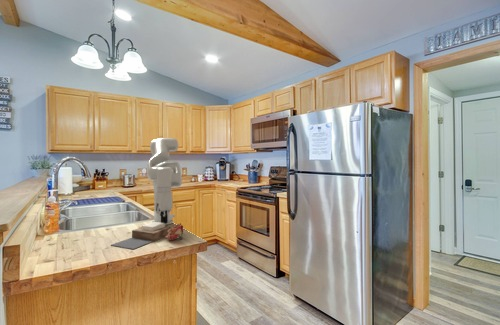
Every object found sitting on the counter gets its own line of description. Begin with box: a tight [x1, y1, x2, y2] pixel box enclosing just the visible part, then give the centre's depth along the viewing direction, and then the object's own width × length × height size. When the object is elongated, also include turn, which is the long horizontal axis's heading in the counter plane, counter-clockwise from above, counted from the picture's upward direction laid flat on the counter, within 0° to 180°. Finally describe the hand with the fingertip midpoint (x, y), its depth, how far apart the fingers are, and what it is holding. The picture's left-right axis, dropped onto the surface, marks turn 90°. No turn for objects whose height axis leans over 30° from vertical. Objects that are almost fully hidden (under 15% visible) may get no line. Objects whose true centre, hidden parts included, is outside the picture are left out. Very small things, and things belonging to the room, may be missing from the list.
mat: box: [110, 237, 153, 251], centre depth 122 cm, size 12×14×1 cm
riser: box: [131, 225, 172, 243], centre depth 134 cm, size 13×14×4 cm
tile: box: [141, 221, 166, 231], centre depth 135 cm, size 9×7×2 cm
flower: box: [164, 222, 185, 241], centre depth 128 cm, size 10×9×8 cm
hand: (164, 223), depth 142 cm, fingers closed
